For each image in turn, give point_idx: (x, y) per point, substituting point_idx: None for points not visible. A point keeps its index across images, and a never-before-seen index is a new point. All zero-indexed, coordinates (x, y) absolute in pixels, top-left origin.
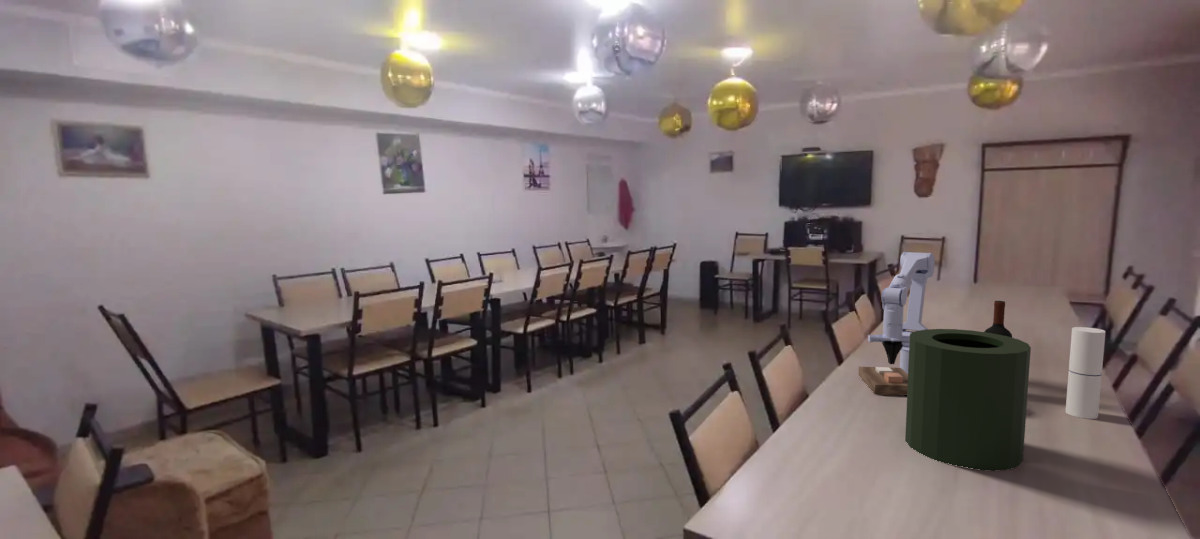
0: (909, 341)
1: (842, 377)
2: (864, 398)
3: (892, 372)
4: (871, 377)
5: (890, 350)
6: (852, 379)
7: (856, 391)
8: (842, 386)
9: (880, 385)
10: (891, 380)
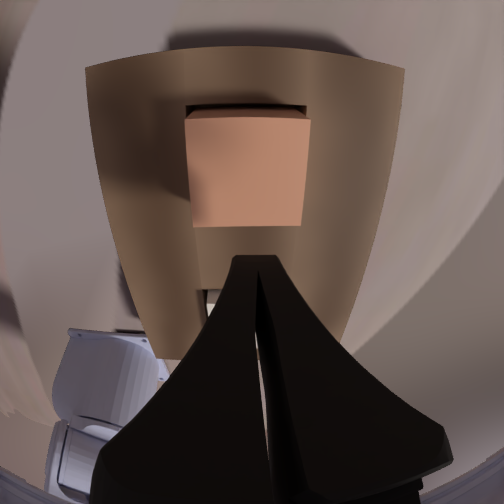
0: (25, 500)
1: (394, 296)
2: (433, 26)
3: (209, 297)
4: (366, 210)
5: (336, 387)
6: (372, 281)
7: (435, 122)
8: (454, 191)
9: (371, 60)
10: (279, 113)
